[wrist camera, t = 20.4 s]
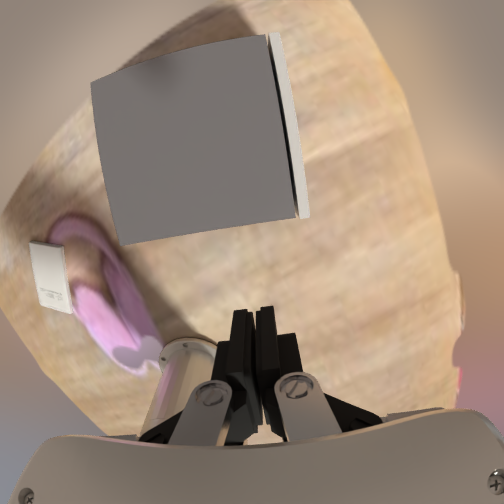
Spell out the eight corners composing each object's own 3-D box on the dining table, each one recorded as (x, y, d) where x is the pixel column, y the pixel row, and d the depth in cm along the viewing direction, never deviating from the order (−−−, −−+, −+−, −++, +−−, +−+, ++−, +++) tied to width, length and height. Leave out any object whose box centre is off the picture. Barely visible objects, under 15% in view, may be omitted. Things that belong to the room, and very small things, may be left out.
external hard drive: (65, 244, 39) (74, 310, 43) (33, 239, 39) (43, 301, 43) (59, 248, 38) (70, 314, 42) (27, 242, 37) (39, 305, 42)
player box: (285, 200, 36) (295, 217, 26) (152, 222, 37) (120, 246, 28) (263, 64, 30) (265, 34, 20) (129, 95, 31) (90, 82, 22)
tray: (297, 201, 35) (310, 217, 26) (161, 223, 36) (133, 245, 28) (274, 60, 29) (279, 32, 20) (136, 90, 30) (102, 76, 22)
